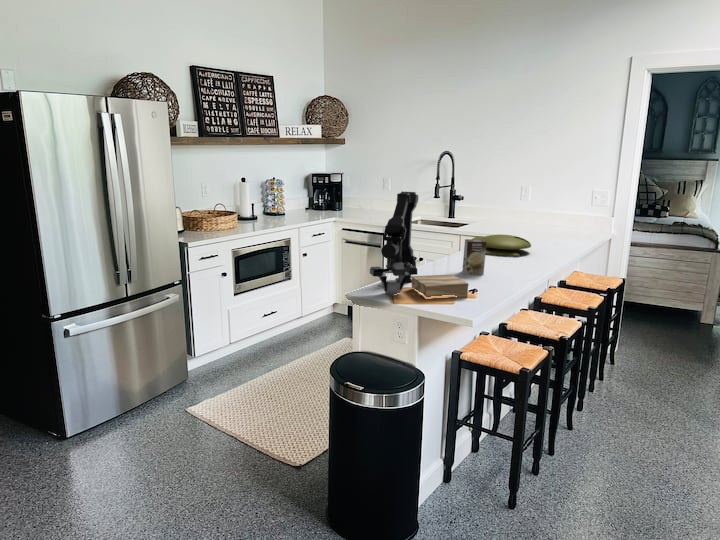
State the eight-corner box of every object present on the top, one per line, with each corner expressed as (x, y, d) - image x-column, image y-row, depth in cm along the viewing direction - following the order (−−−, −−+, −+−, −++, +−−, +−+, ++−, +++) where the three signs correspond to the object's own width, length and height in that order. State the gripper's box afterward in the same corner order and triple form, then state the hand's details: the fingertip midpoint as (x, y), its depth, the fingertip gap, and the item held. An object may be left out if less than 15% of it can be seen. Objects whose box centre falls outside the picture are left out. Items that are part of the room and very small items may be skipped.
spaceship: (466, 254, 303) (467, 237, 300) (471, 245, 331) (472, 229, 329) (530, 259, 293) (532, 241, 291) (530, 249, 322) (531, 233, 319)
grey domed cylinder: (382, 292, 218) (383, 280, 217) (394, 291, 221) (395, 279, 220) (390, 296, 213) (391, 284, 212) (403, 294, 216) (403, 282, 215)
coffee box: (465, 274, 252) (467, 241, 248) (462, 271, 258) (464, 239, 255) (484, 274, 252) (486, 241, 249) (480, 271, 259) (483, 239, 255)
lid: (411, 277, 223) (411, 276, 223) (451, 275, 228) (451, 274, 228) (425, 287, 208) (426, 285, 208) (468, 285, 213) (468, 283, 213)
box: (411, 289, 224) (411, 277, 223) (450, 287, 229) (451, 275, 228) (425, 299, 209) (426, 287, 208) (467, 297, 214) (468, 285, 213)
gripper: (378, 258, 203) (376, 297, 207) (423, 257, 208) (421, 295, 212) (369, 253, 214) (368, 290, 217) (413, 251, 219) (411, 288, 222)
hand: (392, 291), depth 217 cm, fingers closed on grey domed cylinder, 6 cm apart
